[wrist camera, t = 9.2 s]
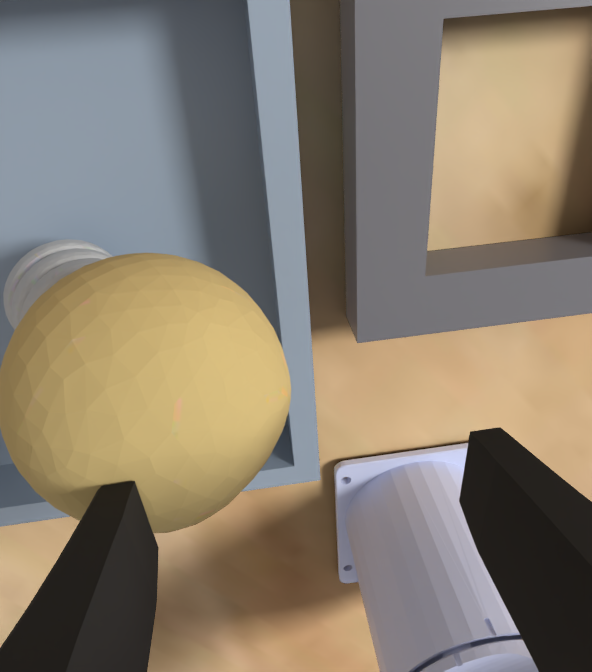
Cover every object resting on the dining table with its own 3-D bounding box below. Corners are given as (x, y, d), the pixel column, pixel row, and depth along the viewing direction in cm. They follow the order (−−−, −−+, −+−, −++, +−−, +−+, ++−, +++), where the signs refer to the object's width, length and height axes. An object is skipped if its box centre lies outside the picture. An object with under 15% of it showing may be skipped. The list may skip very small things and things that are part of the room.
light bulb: (72, 404, 19) (211, 615, 12) (-110, 311, 14) (-51, 570, 7) (187, 273, 20) (377, 402, 13) (49, 143, 15) (234, 240, 8)
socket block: (639, 279, 21) (675, 302, 20) (346, 316, 21) (357, 343, 19) (763, -109, 15) (832, -125, 13) (338, -79, 14) (354, -91, 12)
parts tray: (309, 430, 24) (320, 479, 21) (-52, 480, 23) (-87, 538, 20) (273, -64, 14) (284, -82, 11) (-363, -17, 13) (-505, -26, 10)
